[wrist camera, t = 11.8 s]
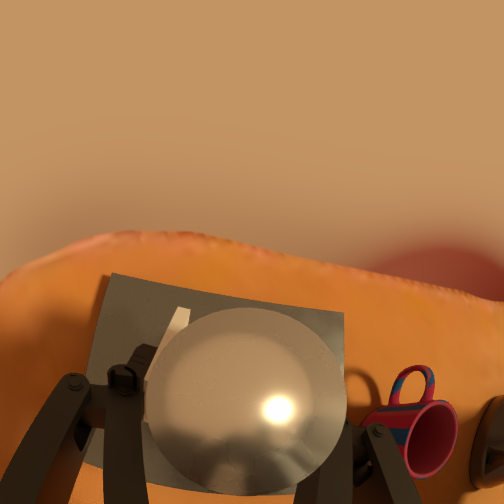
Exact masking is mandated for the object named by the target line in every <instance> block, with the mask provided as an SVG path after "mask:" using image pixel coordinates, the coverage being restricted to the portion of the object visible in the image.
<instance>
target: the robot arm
mask: <svg viewBox="0 0 504 504" xmlns="http://www.w3.org/2000/svg"><path fill="white" fill-rule="evenodd" d="M190 310H191V309H186V308H182V307H177V309H176V311H175V314H174V316H173V318H172V320H171V322H170V324H169V326H168V328H167V330H166V332H165V334H164V336H163V339H162V341H161V343H160V345H159V347H155V346H151V345H148V344H144V343H143V344H141V345H139V346H138V347H136V349H135V350H134V352H133V354H132V356H131V357H130V360H129V361H128V363H127V364H117V365H114V366H112V367H111V368H109V370H108V372H107V378H108V385H96V384H90V383H89V380H88V379H87V378H86V377H85V376H83V375H82V374H78V373H69V374H66V375H65V376H63V377H62V378H61V380H60V381H59V383H58V384H57V386H56V387H55V389H54V390H53V391H52V393H51V394H50V396H49V398H48V399H47V401H46V402H45V404H44V405H43V407H42V408H41V410H40V411H39V413H38V415H37V416H36V418H35V420H34V421H33V423H32V424H31V426H30V428H29V429H28V431H27V433H26V435H25V436H24V438H23V440H22V441H21V443H20V445H19V447H18V449H17V450H16V452H15V454H14V456H13V458H12V460H11V462H10V463H9V465H8V467H7V469H6V471H5V473H4V475H3V477H2V479H1V482H0V504H68V502H69V499H70V496H71V493H72V490H73V487H74V484H75V481H76V479H77V476H78V473H79V470H80V468H81V465H82V462H83V460H84V457H85V455H86V452H87V450H88V447H89V445H90V442H91V440H92V437H93V435H94V433H95V430H96V428H100V429H104V447H103V493H104V504H149V501H148V494H147V487H146V479H145V470H144V460H143V447H142V432H141V422H142V419H143V416H144V421H145V422H148V419H147V414H146V390H147V384H148V380H149V376H150V373H151V371H152V368H153V366H154V363H155V361H156V360H157V358H158V356H159V355H160V353H161V351H162V350H163V349H164V347H165V346H166V345H167V343H168V342H169V341H170V340H171V339H172V338H173V337H174V336H175V335H176V334H177V333H178V332H179V331H181V330H182V329H183V328H185V327H186V326H188V322H189V316H190ZM370 462H371V463H370ZM371 464H372V465H371ZM470 478H471V482H472V484H473V486H474V487H476V488H492V487H495V486H498V485H501V484H503V483H504V395H501V396H498V397H496V398H495V399H494V400H493V401H492V402H491V404H490V405H489V407H488V408H487V410H486V412H485V414H484V416H483V418H482V420H481V423H480V425H479V428H478V431H477V434H476V438H475V441H474V445H473V450H472V455H471V462H470ZM293 504H422V501H421V499H420V496H419V494H418V491H417V489H416V487H415V484H414V482H413V480H412V477H411V475H410V473H409V471H408V468H407V466H406V464H405V462H404V459H403V457H402V455H401V453H400V451H399V448H398V446H397V444H396V442H395V440H394V438H393V436H392V433H391V431H390V430H389V428H388V427H387V426H385V425H384V424H382V423H379V422H373V423H370V424H369V425H368V426H367V427H366V428H362V427H358V426H354V425H351V422H350V421H349V419H348V418H347V417H345V422H344V426H343V429H342V432H341V435H340V437H339V439H338V442H337V443H336V445H335V447H334V449H333V450H332V452H331V453H330V455H329V456H328V457H327V459H326V460H325V461H324V462H323V463H322V464H321V465H320V466H319V467H318V468H317V469H316V470H315V471H314V472H313V473H311V474H310V475H309V476H308V477H306V478H305V479H303V480H302V481H300V482H298V483H297V488H296V493H295V497H294V502H293Z"/></svg>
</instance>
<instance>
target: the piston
mask: <svg viewBox="0 0 504 504" xmlns="http://www.w3.org/2000/svg"><path fill="white" fill-rule="evenodd" d="M346 410H347V394H346V386H345V382H344V378H343V374H342V372H341V369H340V367H339V364H338V362H337V360H336V358H335V357H334V355H333V353H332V352H331V350H330V349H329V348H328V346H327V345H326V344H325V343H324V341H323V340H322V339H321V338H320V337H319V336H318V335H317V334H316V333H314V332H313V331H312V330H311V329H310V328H308V327H307V326H305V325H304V324H302V323H301V322H299V321H297V320H295V319H293V318H291V317H289V316H287V315H284V314H281V313H278V312H275V311H271V310H266V309H260V308H233V309H226V310H222V311H218V312H214V313H211V314H209V315H206V316H204V317H201V318H199V319H198V320H196V321H194V322H192V323H190V324H189V325H188V326H186V327H185V328H183V329H182V330H181V331H179V332H178V333H177V334H176V335H175V336H174V337H173V338H172V339H171V340H170V341H169V342H168V343H167V345H166V346H165V347H164V349H163V350H162V351H161V353H160V355H159V356H158V358H157V360H156V361H155V363H154V366H153V368H152V371H151V373H150V376H149V380H148V384H147V390H146V414H147V419H148V424H149V428H150V430H151V433H152V436H153V438H154V440H155V442H156V444H157V446H158V448H159V449H160V451H161V453H162V454H163V455H164V457H165V458H166V459H167V460H168V462H169V463H170V464H171V465H172V466H173V467H174V468H175V469H176V470H177V471H178V472H180V473H181V474H182V475H184V476H185V477H186V478H188V479H189V480H191V481H193V482H194V483H196V484H198V485H200V486H202V487H204V488H207V489H210V490H212V491H215V492H219V493H223V494H228V495H236V496H258V495H264V494H270V493H274V492H277V491H280V490H283V489H286V488H288V487H290V486H293V485H295V484H296V483H298V482H300V481H302V480H303V479H305V478H306V477H308V476H309V475H310V474H311V473H313V472H314V471H315V470H316V469H317V468H318V467H319V466H320V465H321V464H322V463H323V462H324V461H325V460H326V459H327V457H328V456H329V455H330V453H331V452H332V450H333V449H334V447H335V445H336V443H337V442H338V439H339V437H340V435H341V432H342V429H343V426H344V422H345V417H346Z"/></svg>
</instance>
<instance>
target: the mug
mask: <svg viewBox="0 0 504 504" xmlns="http://www.w3.org/2000/svg"><path fill="white" fill-rule="evenodd" d="M413 371H420V372H422V374H423V375H424V377H425V381H426V386H425V391H424V394H423V396H422V398H421V400H420V401H419V402H417V403H409V404H399V394H400V390H401V387H402V384H403V382H404V380H405V378H406V377H407V376H408V375H409V374H410V373H412V372H413ZM434 387H435V380H434V374H433V372H432V370H431V369H430V368H429V367H427V366H424V365H414V366H411V367H408V368H406V369H404V370H403V371H402V372H400V373H399V375H398V376H397V378H396V380H395V382H394V384H393V387H392V390H391V394H390V398H389V403H388V405H387V406H383V407H380V408H378V409H376V410H374V411H373V412H372V413H370V414H369V415H368V416H367V418H366V419H365V420H364V421H363V423H362V424H361V426H360V427H362V428H366V427H367V426H368V425H369V424H370V423H373V422H379V423H382V424H384V425H385V426H387V427H388V428H389V430H390V431H391V433H392V436H393V438H394V440H395V442H396V444H397V446H398V448H399V451H400V453H401V455H402V457H403V459H404V462H405V464H406V466H407V468H408V471H409V473H410V475H411V477H412V478H414V479H426V478H428V477H431V476H432V475H434V474H435V473H437V472H438V471H439V470H440V469H441V468H442V467H443V466H444V465H445V463H446V462H447V460H448V459H449V457H450V455H451V453H452V451H453V449H454V446H455V443H456V440H457V434H458V419H457V415H456V412H455V410H454V408H453V407H452V405H451V404H450V403H449V402H447V401H445V400H433V399H432V398H433V393H434ZM370 463H371V462H370ZM371 465H372V464H371Z"/></svg>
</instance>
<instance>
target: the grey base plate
mask: <svg viewBox="0 0 504 504" xmlns="http://www.w3.org/2000/svg"><path fill="white" fill-rule="evenodd" d="M177 307H182V308H186V309H191V310H190V316H189V322H188V325H189V324H190V323H192V322H194V321H196V320H198V319H199V318H201V317H204V316H206V315H209V314H211V313H214V312H218V311H222V310H226V309H233V308H260V309H266V310H271V311H275V312H278V313H281V314H284V315H287V316H289V317H291V318H293V319H295V320H297V321H299V322H301V323H302V324H304V325H305V326H307V327H308V328H310V329H311V330H312V331H313V332H314V333H316V334H317V335H318V336H319V337H320V338H321V339H322V340H323V341H324V343H325V344H326V345H327V346H328V348H329V349H330V350H331V352H332V353H333V355H334V357H335V358H336V360H337V362H338V364H339V367H340V369H341V372H342V374H343V378H344V313H342V312H334V311H326V310H318V309H310V308H303V307H295V306H288V305H281V304H274V303H268V302H261V301H255V300H249V299H243V298H237V297H231V296H225V295H219V294H214V293H208V292H203V291H197V290H192V289H187V288H182V287H176V286H171V285H166V284H162V283H157V282H152V281H147V280H143V279H138V278H133V277H129V276H125V275H120V274H116V273H112V274H111V277H110V280H109V283H108V286H107V290H106V293H105V296H104V300H103V303H102V307H101V310H100V314H99V318H98V322H97V325H96V329H95V333H94V338H93V342H92V346H91V351H90V356H89V360H88V366H87V371H86V376H85V377H86V378H87V379H88V380H89V383H90V384H96V385H108V378H107V372H108V370H109V368H111V367H112V366H114V365H117V364H127V363H128V361H129V360H130V357H131V356H132V354H133V352H134V350H135V349H136V347H138V346H139V345H141V344H143V343H144V344H148V345H151V346H155V347H159V345H160V343H161V341H162V339H163V336H164V334H165V332H166V330H167V328H168V326H169V324H170V322H171V320H172V318H173V316H174V314H175V311H176V309H177ZM141 432H142V447H143V460H144V470H145V479H146V482H148V483H153V484H157V485H162V486H167V487H172V488H178V489H184V490H190V491H198V492H206V493H216V494H223V493H219V492H215V491H212V490H210V489H207V488H204V487H202V486H200V485H198V484H196V483H194V482H193V481H191V480H189V479H188V478H186V477H185V476H184V475H182V474H181V473H180V472H178V471H177V470H176V469H175V468H174V467H173V466H172V465H171V464H170V463H169V462H168V460H167V459H166V458H165V457H164V455H163V454H162V453H161V451H160V449H159V448H158V446H157V444H156V442H155V440H154V438H153V436H152V433H151V430H150V428H149V424H148V422H145V421H144V416H143V419H142V422H141ZM103 447H104V429H100V428H96V430H95V433H94V435H93V437H92V440H91V442H90V445H89V447H88V450H87V452H86V455H85V457H84V460H83V462H85V463H88V464H90V465H93V466H96V467H98V468H101V469H103ZM296 488H297V483H296V484H295V485H293V486H290V487H288V488H286V489H283V490H280V491H277V492H274V493H270V494H264V495H287V494H295V493H296Z"/></svg>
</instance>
